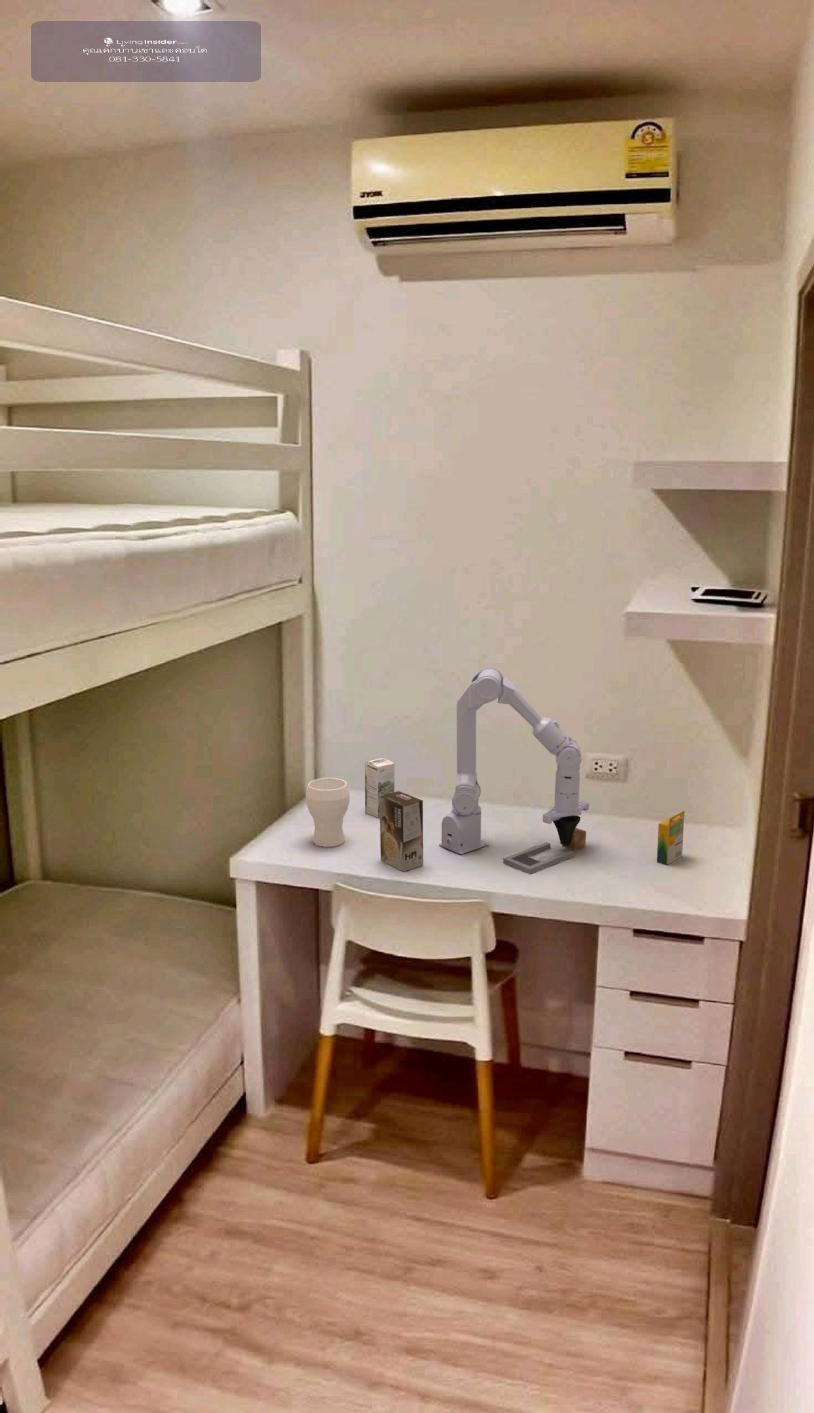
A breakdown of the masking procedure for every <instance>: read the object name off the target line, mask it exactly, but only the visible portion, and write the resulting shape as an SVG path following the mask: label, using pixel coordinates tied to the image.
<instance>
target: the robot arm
mask: <svg viewBox="0 0 814 1413" xmlns="http://www.w3.org/2000/svg"><path fill="white" fill-rule="evenodd" d="M496 700H497V703H498V704H503V705H509V706H510V707H511V708H512V709H514V710H515V711H516V712H517V713H518V714H519V715H520V716H521V717H522V718H523V719H524V720H525V721H526V722H527V723H528V724H529V725H530V726H531V727H532V735H533V736H534V738H535V739H537V741H538V742H539V743H540V744H541V745H542V746H543V747H544V748H545V749H546V751H547V752H549V753H550V754H551V755H553V756H555V762H556V771H555V777H554V778H555V782H554V785H555V786H554V806H553V807H552V808H551V809H550V810H548V811H547V812H546V813H543V815H542V823H545V824H547V825H551V824H552V823H553V824H554V827H555V828H556V832H557V835H558V839H559V842H560V845H561V846H562V845H565V846H568V845H570V842H571V839H572V836H573V833H574V830H575V828H577V826H578V824H579V823H580V821H581V815H582V812H584V811H586V812H587V811H589V809H590V802H588V801H586V800H580V780H581V779H580V778H581V774H580V769H581V767H580V765H581V763H582V761H583V760H582V753H581V747H580V746H579V744H578V742H577V741H576V740H575V739H574V738H573V737H572V736H571V735H567V733H565V731H563V729H562V728H561V727H560V723H559V721H558V720H557V719H554V720H553V719H552V718H551V717H544V716H542V715H541V714H540V712H538V710H537V709H536V708H535V707H534V705H532V703H530V701H529V699H527V698H526V697H525V696H524V694H523V693H522V692H521V691H520V690H519V689H518V688H517V687H516V686H515V685H514V683H513V682H512V681H511V680H510V679H509V678H507V677H506V676H503V674H502V673H501V671H500V670H499V669H497V668H495V667H492V666H491V667H485V668H483V669H481V670H480V671H479V672H477V673H476V674H474V675H473V677H472V678H471V680H470V681H469V683H468V684H467V686H466V687H465V688H464V690H463V692H462V693H461V694H460V696H459V697H458V699H457V702H456V780H455V782H456V783H455V788H454V794H453V796H452V798H451V805H452V806H451V811H450V813H448V814H447V815H446V816H444V817H442V821H441V842H439V844H438V845H439V846H441V847H442V848H445V849H447V850H449V851H452V852H454V853H457V854H459V855H464V854H466V853H469V852H472V851H475V850H478V849H480V848H484V847H486V846H489V843H488V842H487V841H485V840H482V807H481V806H480V805H479V801H480V800H479V799H480V796H481V793H482V789H481V786H480V784H479V782H478V773H477V711H478V710H479V709H481V708H482V707H483V706H484V705H486V704H489V703H491V702H493V701H496ZM579 800H580V801H579Z"/></svg>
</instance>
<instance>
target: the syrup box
mask: <svg viewBox="0 0 814 1413" xmlns="http://www.w3.org/2000/svg"><path fill="white" fill-rule="evenodd" d="M395 767H396V766H395V763H394V762H393V761H391V760H389V759H387V758H383V757H379V758H376V759H373V760H369V761H364V813H365V814H368V815H370V816H372V817H375V818H377V819H380V798H379V797H381V796H385V795H386V794H390V793H393V792H395V780H396V779H395V775H396V774H395V772H396V771H395Z"/></svg>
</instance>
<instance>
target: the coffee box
mask: <svg viewBox="0 0 814 1413" xmlns="http://www.w3.org/2000/svg"><path fill="white" fill-rule="evenodd" d="M379 798H380V818H379V832H380V833H379V834H380V835H379V837H380V839H379V841H380V842H379V843H380V861H381V862H383V863H386V864H387V865H390V866H391V867H394V868H396V869H397V870H400V871H402V872H408V871H410V870H413V869H416V868H418V867H421V866H424V800H423V799H420V798H417V797H414V796H412V795H410V794H407V793H405V792H402V791H400V790H398V791H394V792H393V793H390V794H386V795H385V796H381V797H379ZM407 870H408V871H407Z"/></svg>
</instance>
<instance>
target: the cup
mask: <svg viewBox="0 0 814 1413" xmlns="http://www.w3.org/2000/svg"><path fill="white" fill-rule="evenodd" d="M305 799H306V802H305V803H306V805H307V808H308V812H309V814H310V815H311V817H312V820H313V825H314V830H313V831H314V832H313V839H312V842H313V844H314V843H315V844H314V845H316V846H319V847H322V846H323V848H330V847H333V848H334V847H337V846H341V845H342V844H344V843H345V834H344V830H343V823H344V818H345V817H344V816H346V813H347V811H348V808H349V805H350V789H349V786H348V783H347V781H346V780H344V779H341V778H337V777H322V778H321V777H320V778H315V779H313V780H311V781H309V782H308V784H307V788H306V792H305Z"/></svg>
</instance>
